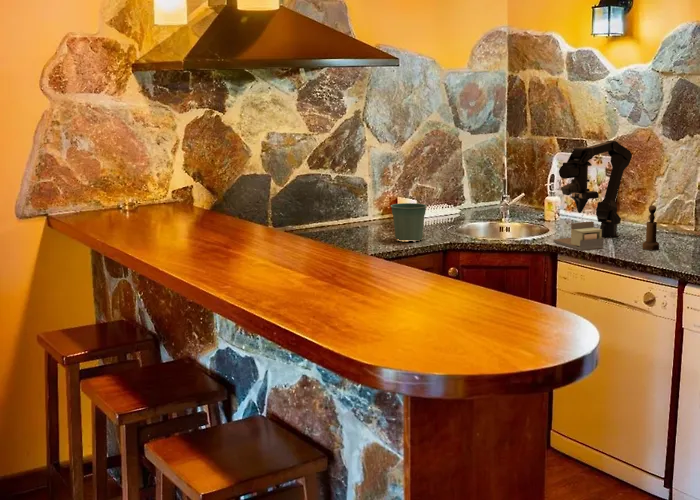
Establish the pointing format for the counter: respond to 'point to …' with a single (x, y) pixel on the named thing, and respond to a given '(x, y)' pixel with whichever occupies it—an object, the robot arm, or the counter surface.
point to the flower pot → (408, 220)
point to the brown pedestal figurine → (651, 231)
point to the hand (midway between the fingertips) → (579, 212)
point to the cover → (583, 231)
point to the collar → (589, 236)
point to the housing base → (582, 243)
